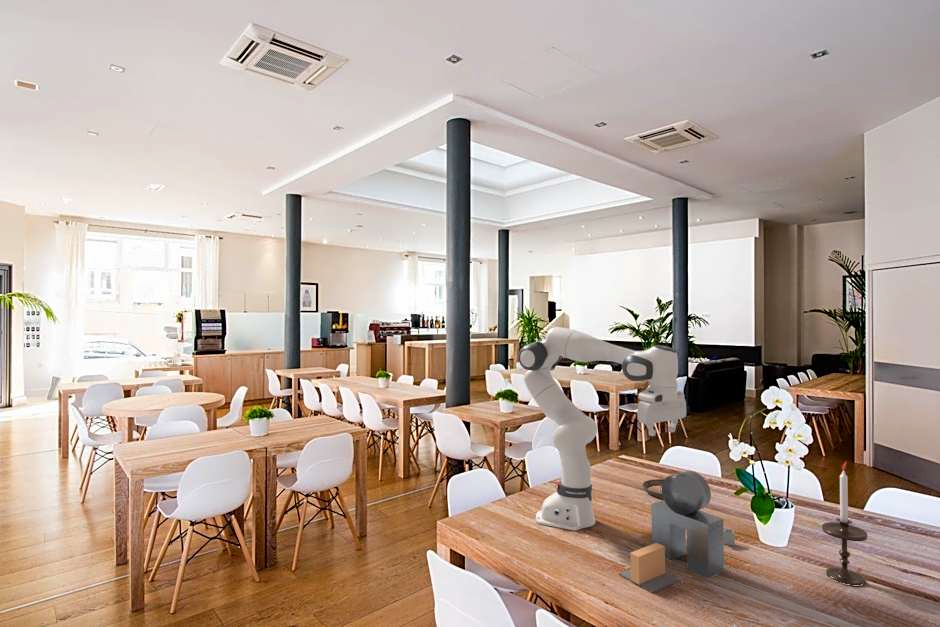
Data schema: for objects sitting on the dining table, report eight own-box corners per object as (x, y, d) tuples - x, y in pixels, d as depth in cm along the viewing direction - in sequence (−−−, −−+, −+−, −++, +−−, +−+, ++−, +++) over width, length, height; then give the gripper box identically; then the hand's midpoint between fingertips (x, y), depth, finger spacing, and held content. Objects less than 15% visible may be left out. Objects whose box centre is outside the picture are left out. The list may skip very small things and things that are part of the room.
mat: (652, 593, 144) (652, 591, 144) (619, 575, 154) (619, 573, 154) (678, 580, 150) (678, 579, 150) (645, 564, 160) (645, 562, 160)
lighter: (734, 543, 174) (733, 520, 174) (735, 545, 173) (734, 522, 173) (711, 540, 177) (711, 517, 177) (712, 542, 175) (711, 519, 175)
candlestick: (877, 584, 147) (876, 463, 147) (849, 590, 144) (848, 467, 144) (840, 567, 158) (839, 454, 158) (813, 572, 155) (812, 457, 155)
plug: (638, 584, 147) (638, 556, 147) (630, 580, 150) (630, 552, 150) (665, 572, 154) (664, 546, 154) (656, 568, 156) (656, 542, 156)
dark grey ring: (636, 495, 222) (636, 488, 222) (649, 482, 239) (649, 475, 239) (686, 505, 210) (686, 497, 210) (696, 491, 227) (696, 483, 227)
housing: (708, 578, 151) (707, 484, 151) (651, 552, 168) (651, 467, 168) (723, 571, 156) (722, 479, 156) (667, 546, 172) (666, 463, 173)
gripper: (676, 388, 180) (675, 427, 181) (634, 394, 170) (633, 435, 171) (691, 392, 175) (690, 431, 176) (649, 398, 165) (648, 440, 166)
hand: (662, 433), depth 173 cm, fingers open, 8 cm apart
